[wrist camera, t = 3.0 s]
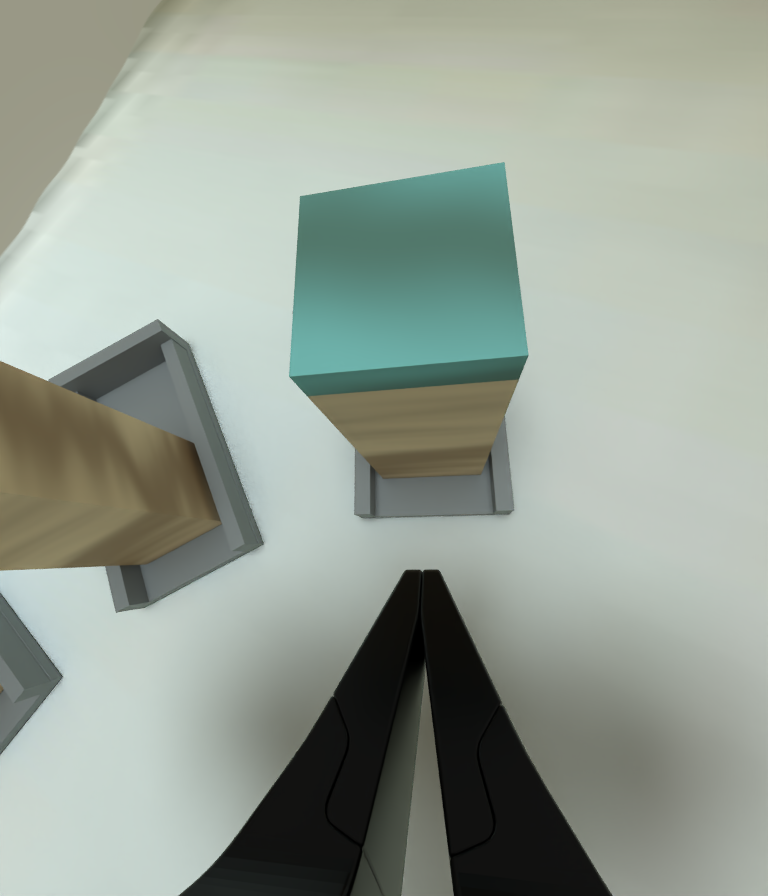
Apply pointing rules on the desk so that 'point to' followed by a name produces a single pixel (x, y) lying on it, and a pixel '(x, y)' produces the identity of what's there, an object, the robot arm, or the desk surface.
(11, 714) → the slate track
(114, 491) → the oak key
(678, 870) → the desk surface
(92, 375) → the slate track
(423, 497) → the slate track
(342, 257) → the oak key
